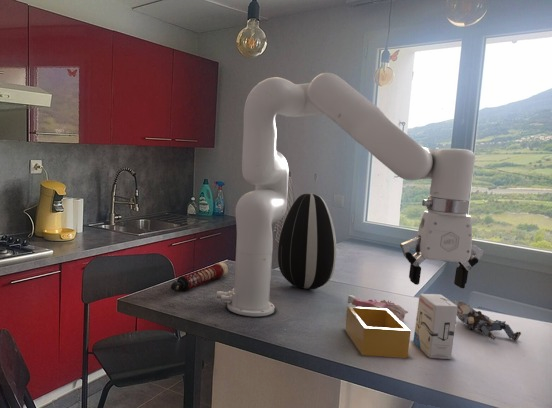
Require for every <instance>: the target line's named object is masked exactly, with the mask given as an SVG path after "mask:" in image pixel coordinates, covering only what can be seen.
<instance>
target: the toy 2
mask: <svg viewBox="0 0 552 408" xmlns="http://www.w3.org/2000/svg"><path fill="white" fill-rule="evenodd" d="M453 303H454V304H455V305H457V307H458V309H457V316H456V317H457V318H458V320H459V321H461V322H462V323H463V324H465V325H466V326H467V327H468V329H469V330H470V331H473V330H476V329H477V330H478V331H479V333H483V334H485V336H486V337H487V338H488V339H491V340H493V341H495V340H496V338H497V337H496V336H495V334H493V333H492V332H495V331H502V330H503V331H504V333H505V334H506V336H507V337H508V338H509V339H510V340H513V342H517V341H518V340H519V338H520V336H521V335H522V332H521V331H516V332H515V331H513V329H512V328H511V326H510V324H508V323H506V320H503V321H501V320H498V319H495V320H493V319H490V317H489V316H488V315H485V314H483V313H482V311H481V310H476V309H474V308H473V307H472V306H471V305H470V304H467V303H465V301H464V302H463V300H458V299H455V301H453Z"/></svg>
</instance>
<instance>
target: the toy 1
mask: <svg viewBox="0 0 552 408" xmlns="http://www.w3.org/2000/svg"><path fill="white" fill-rule="evenodd" d="M346 303H347V304H351V305H352V306H354V307H365V308H381V309H388V310H389V311H390V312H391V313H392V314H393V315H395V316H396V317H397V318H398V319H399V320H400V321H401V322H402V323H404V321H405V320H404V319H405V317H406V314H409V311H407V310H405V309H404V308H403V307H402V306H401V305H399V304H395V303H394V302H392V300H391V301H390V300H387V301H386V300H385V299H383V300H380V301H378V300H376V299H374V300H373V299H368V300H364V299H360V298H358V297H357V296H355V295H353V294H349V295H348V297H347V302H346Z"/></svg>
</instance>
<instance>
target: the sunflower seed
mask: <svg viewBox="0 0 552 408" xmlns="http://www.w3.org/2000/svg"><path fill="white" fill-rule="evenodd" d="M337 247H338V246H337V238H336V231H335V226H334V222H333V218H332V215H331V212H330V210H329V207H328V205H327V203H326V201H325V199H324V198H322V197H321V196H320V195H319V194H316V193H313V192H309V193H302V194H301V195H299V196H298V197H297V198H295V200H294V201H293V203H292V204H291V206H290V207H289V210H288V212H287V214H286V216H285V218H284V220H283V224H282V227H281V230H280V233H279V238H278V245H277V265H278V268H279V272H280V273H281V275H282V276H283V277H284V279H285V280H286V281H287V282H288V283H289V284H291V285H292V286H295V287H297V288H300V289H301V288H302V289H304V290H305V289H306V290H315V289H318V288H321V287H323V286H325V285H326V284H327V283H328V282H330V281H331V279H332V277H333V275H334V272H335V269H336V265H337V264H336V263H337Z"/></svg>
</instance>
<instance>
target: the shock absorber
mask: <svg viewBox="0 0 552 408" xmlns="http://www.w3.org/2000/svg"><path fill="white" fill-rule="evenodd" d="M228 273H229V265H228V264H227V263H225V262H223V261H219V262H215V263H214V264H212V265H209V266H208V267H205V268H204V267H203V268H201V269H198V270H195V271H193V272H189V273H187V274H183V275H181V276H179V277H178V278H177V279H176V281H174V282H173V283H171V285H170V289H171V290H172V291H173V292H177V291H178V290H181V291H183V292H186V291H187V290H188V291H189V290H190V289H193V288H195V287H197V286H201V285H203V284H205V283H208V282H211V281H213V280H216V279H220V278H222V277H224V276H225V275H227V274H228ZM195 282H196V283H195Z"/></svg>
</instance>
